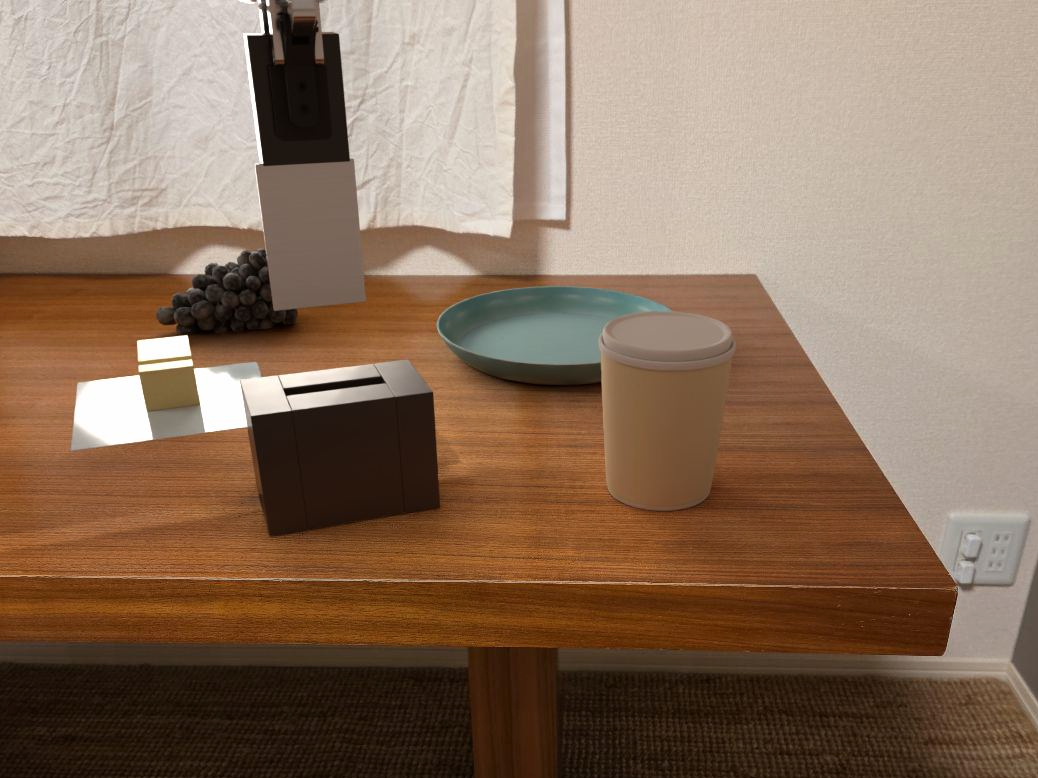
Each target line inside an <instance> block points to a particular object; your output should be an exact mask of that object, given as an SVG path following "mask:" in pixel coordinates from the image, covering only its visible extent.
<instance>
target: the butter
mask: <svg viewBox="0 0 1038 778" xmlns="http://www.w3.org/2000/svg"><path fill="white" fill-rule="evenodd" d="M136 351H137V364H138V365H137V366H139V365H147V364H156V363H165V362H173V361H182V360H191V359H192V360H193V356H192V350H191V345H190V340H189V336H188V335H177V336H167V337H158V338H149V339H140V340H139V339H138V340H136Z"/></svg>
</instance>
